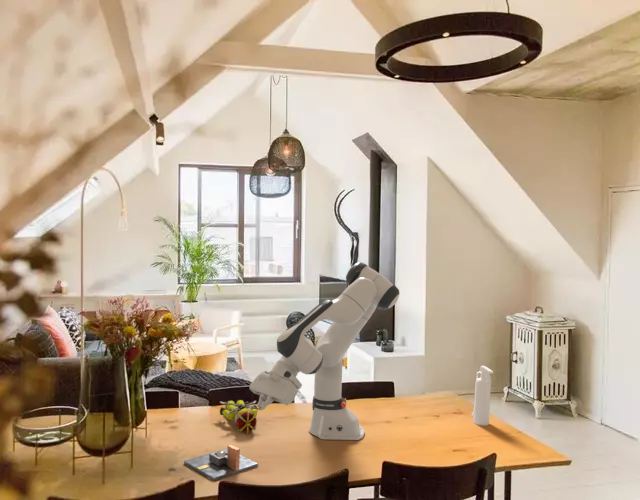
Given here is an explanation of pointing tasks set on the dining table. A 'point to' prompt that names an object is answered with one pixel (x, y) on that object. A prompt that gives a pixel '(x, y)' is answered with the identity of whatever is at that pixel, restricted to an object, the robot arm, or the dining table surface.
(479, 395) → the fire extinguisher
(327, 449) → the dining table surface
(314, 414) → the robot arm
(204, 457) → the mount plate
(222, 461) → the copper and grey fixture
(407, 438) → the dining table surface
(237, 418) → the toy
